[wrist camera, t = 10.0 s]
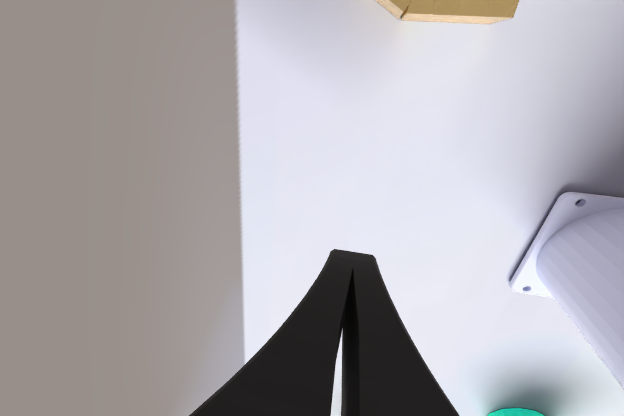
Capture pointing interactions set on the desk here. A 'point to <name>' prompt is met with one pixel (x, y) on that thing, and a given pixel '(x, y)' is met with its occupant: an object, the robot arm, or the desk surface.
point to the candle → (515, 412)
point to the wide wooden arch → (452, 10)
